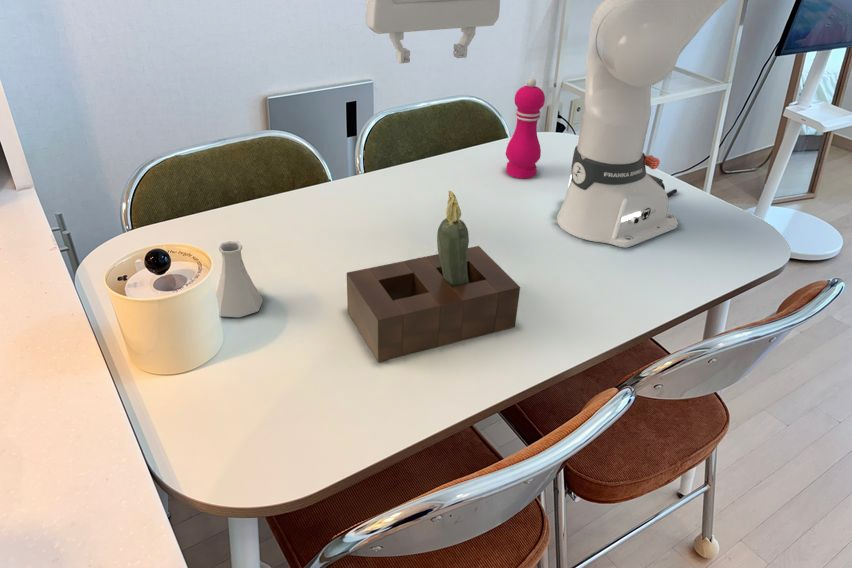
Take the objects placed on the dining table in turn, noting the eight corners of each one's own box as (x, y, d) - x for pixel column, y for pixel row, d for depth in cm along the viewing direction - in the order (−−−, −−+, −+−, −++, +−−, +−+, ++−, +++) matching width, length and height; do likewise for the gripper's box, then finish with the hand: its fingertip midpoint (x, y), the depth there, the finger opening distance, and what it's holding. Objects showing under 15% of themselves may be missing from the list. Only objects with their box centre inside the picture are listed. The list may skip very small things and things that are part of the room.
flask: (213, 322, 99) (204, 262, 94) (212, 294, 105) (202, 236, 100) (265, 315, 101) (259, 256, 96) (260, 288, 107) (254, 231, 102)
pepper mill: (520, 163, 152) (531, 71, 141) (545, 174, 147) (558, 80, 136) (496, 171, 148) (506, 76, 137) (521, 182, 143) (533, 86, 132)
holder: (475, 283, 110) (478, 245, 106) (515, 327, 101) (520, 287, 97) (347, 312, 103) (346, 272, 99) (378, 362, 93) (377, 320, 89)
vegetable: (469, 324, 101) (463, 204, 89) (440, 321, 102) (430, 202, 90) (473, 305, 105) (469, 187, 93) (445, 303, 105) (437, 186, 94)
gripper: (374, -35, 91) (374, 71, 98) (509, -40, 98) (500, 59, 106) (357, -43, 96) (359, 59, 103) (488, -47, 103) (480, 49, 111)
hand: (431, 59), depth 105 cm, fingers open, 8 cm apart
